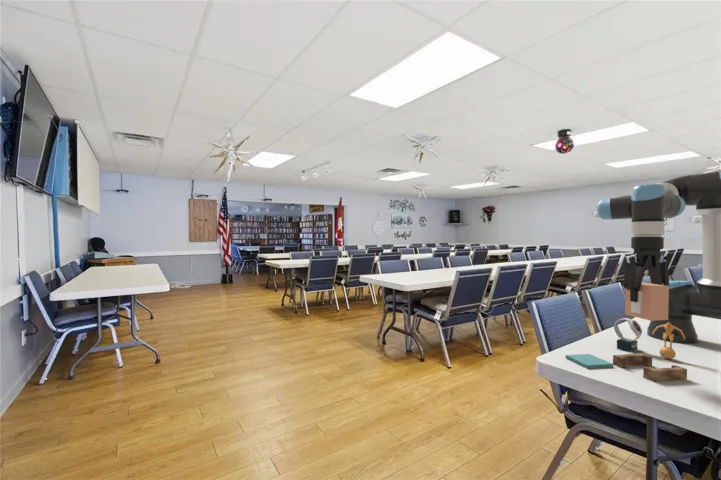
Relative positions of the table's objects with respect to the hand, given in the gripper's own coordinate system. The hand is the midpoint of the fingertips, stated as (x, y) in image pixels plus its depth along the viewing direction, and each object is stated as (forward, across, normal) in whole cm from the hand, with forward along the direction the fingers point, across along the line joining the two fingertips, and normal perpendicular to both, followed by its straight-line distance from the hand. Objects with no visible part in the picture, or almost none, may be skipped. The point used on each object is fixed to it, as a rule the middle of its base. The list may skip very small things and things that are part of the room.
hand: (645, 312), depth 102 cm
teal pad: (+18, +11, -9) cm, 23 cm away
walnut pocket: (+18, -1, 0) cm, 18 cm away
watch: (+18, -14, -18) cm, 29 cm away
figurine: (+18, -19, -8) cm, 27 cm away
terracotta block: (+1, 0, 0) cm, 1 cm away
